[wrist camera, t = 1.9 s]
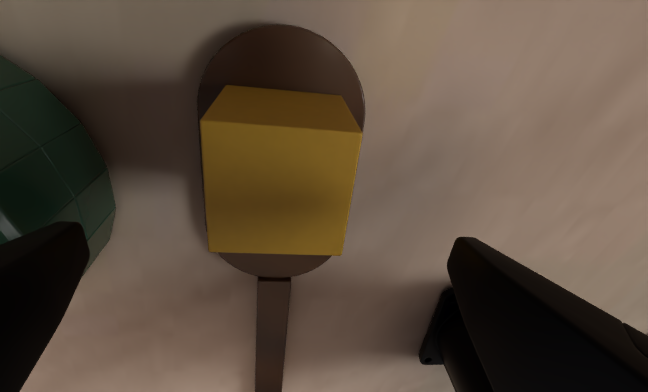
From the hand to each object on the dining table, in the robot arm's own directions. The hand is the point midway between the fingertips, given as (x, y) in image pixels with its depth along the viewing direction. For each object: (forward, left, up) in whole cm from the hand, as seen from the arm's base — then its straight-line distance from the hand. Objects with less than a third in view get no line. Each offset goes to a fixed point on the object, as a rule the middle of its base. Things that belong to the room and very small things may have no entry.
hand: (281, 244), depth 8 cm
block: (0, 0, -7) cm, 7 cm away
